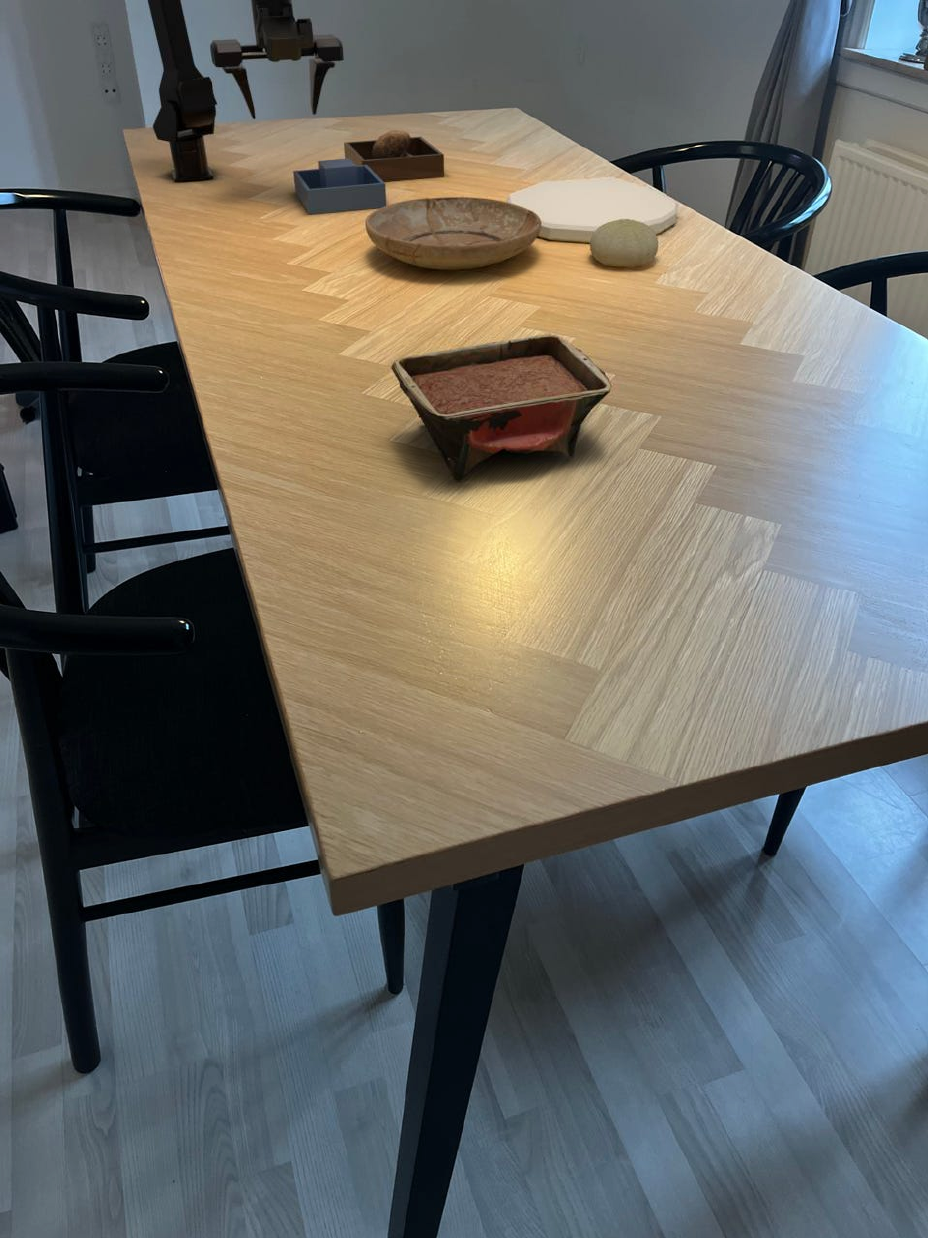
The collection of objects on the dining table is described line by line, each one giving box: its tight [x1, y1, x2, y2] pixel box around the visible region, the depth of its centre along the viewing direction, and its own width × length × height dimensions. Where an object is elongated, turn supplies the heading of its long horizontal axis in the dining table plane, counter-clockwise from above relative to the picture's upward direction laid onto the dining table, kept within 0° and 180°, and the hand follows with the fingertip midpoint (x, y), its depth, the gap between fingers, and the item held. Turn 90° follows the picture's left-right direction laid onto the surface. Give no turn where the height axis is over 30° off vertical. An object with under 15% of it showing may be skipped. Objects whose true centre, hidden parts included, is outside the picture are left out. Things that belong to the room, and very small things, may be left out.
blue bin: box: [292, 165, 387, 215], centre depth 150 cm, size 12×12×4 cm
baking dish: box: [390, 333, 612, 483], centre depth 85 cm, size 14×18×10 cm
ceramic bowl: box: [364, 196, 541, 271], centre depth 127 cm, size 23×24×5 cm
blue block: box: [317, 158, 358, 188], centre depth 149 cm, size 5×5×5 cm
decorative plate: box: [506, 175, 679, 244], centre depth 141 cm, size 25×4×25 cm
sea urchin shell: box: [589, 219, 659, 268], centre depth 126 cm, size 9×8×8 cm
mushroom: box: [372, 129, 412, 159], centre depth 164 cm, size 8×8×6 cm
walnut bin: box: [343, 136, 445, 183], centre depth 165 cm, size 14×14×4 cm
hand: (284, 116), depth 144 cm, fingers open, 9 cm apart
